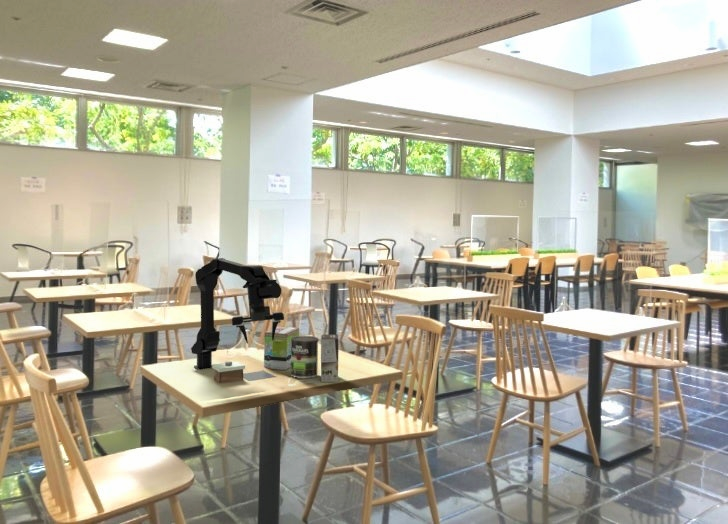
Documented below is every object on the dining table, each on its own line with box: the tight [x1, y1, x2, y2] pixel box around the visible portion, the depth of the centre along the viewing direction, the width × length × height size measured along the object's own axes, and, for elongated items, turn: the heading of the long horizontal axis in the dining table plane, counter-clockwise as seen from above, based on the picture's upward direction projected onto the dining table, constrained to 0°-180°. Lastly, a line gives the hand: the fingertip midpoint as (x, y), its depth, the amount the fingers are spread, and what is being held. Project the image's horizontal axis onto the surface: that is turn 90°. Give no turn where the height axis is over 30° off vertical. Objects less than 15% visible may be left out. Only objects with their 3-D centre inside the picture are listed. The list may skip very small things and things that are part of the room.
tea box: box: [263, 326, 300, 371], centre depth 241 cm, size 15×10×15 cm, turn 168°
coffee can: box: [290, 335, 319, 379], centre depth 226 cm, size 10×10×14 cm
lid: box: [211, 360, 246, 372], centre depth 215 cm, size 7×10×3 cm
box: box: [213, 369, 244, 384], centre depth 215 cm, size 5×9×5 cm, turn 125°
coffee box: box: [320, 334, 340, 383], centre depth 220 cm, size 9×6×16 cm
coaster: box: [243, 370, 277, 382], centre depth 221 cm, size 11×11×1 cm
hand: (260, 341), depth 218 cm, fingers open, 9 cm apart
